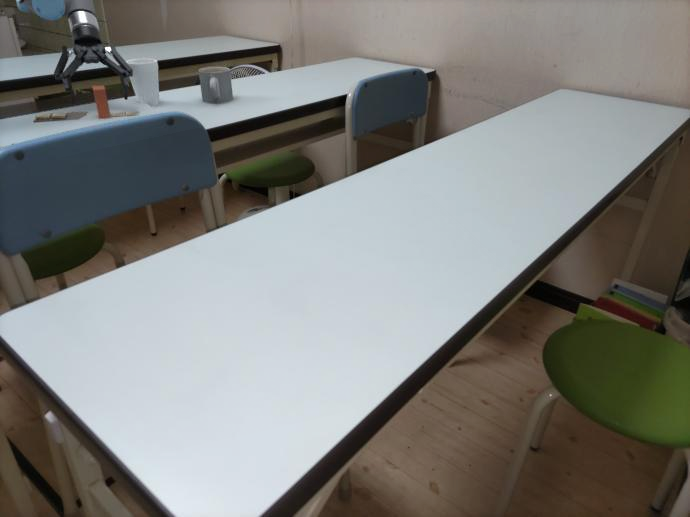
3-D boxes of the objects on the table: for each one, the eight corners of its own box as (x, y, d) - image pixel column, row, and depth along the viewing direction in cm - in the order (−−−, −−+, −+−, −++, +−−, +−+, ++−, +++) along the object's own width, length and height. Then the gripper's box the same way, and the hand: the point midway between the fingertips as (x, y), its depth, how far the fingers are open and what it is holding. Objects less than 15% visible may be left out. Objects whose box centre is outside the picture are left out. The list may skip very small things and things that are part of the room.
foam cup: (127, 104, 162) (118, 61, 156) (153, 99, 168) (146, 57, 162) (143, 109, 157) (135, 65, 150) (170, 103, 163) (163, 61, 157)
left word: (34, 124, 141) (32, 119, 140) (40, 116, 147) (38, 111, 146) (85, 122, 144) (84, 117, 143) (89, 115, 150) (87, 109, 150)
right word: (94, 124, 143) (92, 118, 142) (97, 116, 149) (96, 111, 149) (139, 122, 146) (138, 116, 145) (140, 114, 153) (139, 109, 152)
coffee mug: (208, 97, 174) (204, 66, 168) (236, 98, 173) (233, 67, 168) (194, 107, 162) (190, 74, 157) (225, 108, 161) (221, 75, 156)
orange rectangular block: (99, 119, 144) (93, 90, 140) (98, 114, 148) (92, 86, 143) (111, 118, 145) (105, 89, 141) (109, 113, 149) (103, 85, 145)
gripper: (132, 40, 155) (147, 102, 151) (39, 42, 145) (52, 109, 141) (131, 23, 148) (146, 88, 144) (33, 24, 138) (47, 93, 134)
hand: (100, 98), depth 143 cm, fingers open, 13 cm apart
